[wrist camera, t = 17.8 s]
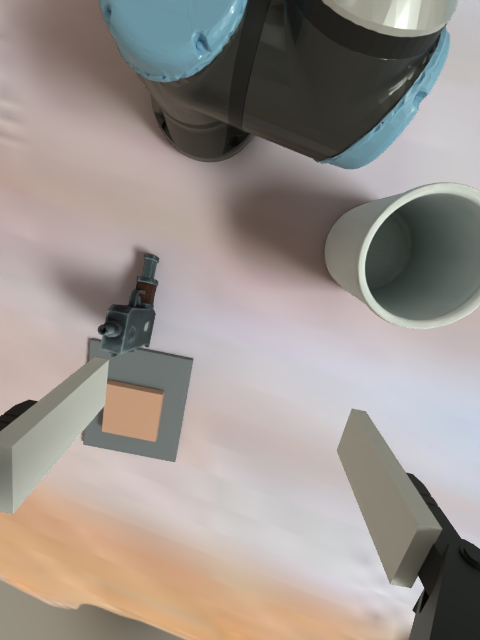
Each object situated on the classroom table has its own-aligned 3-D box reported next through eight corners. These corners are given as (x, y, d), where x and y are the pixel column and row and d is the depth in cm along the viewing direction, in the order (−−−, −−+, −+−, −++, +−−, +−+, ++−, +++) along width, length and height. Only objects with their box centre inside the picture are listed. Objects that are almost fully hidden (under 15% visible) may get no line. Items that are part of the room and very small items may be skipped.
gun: (133, 236, 34) (107, 365, 34) (166, 261, 51) (148, 347, 51) (109, 231, 34) (84, 360, 34) (150, 258, 51) (133, 344, 51)
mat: (92, 338, 52) (90, 340, 52) (193, 358, 53) (192, 360, 52) (85, 441, 59) (83, 444, 58) (175, 459, 59) (174, 462, 58)
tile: (105, 383, 52) (101, 431, 55) (162, 394, 52) (155, 441, 55) (110, 379, 54) (105, 426, 57) (164, 390, 54) (157, 436, 57)
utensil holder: (406, 299, 49) (488, 333, 32) (315, 295, 49) (348, 327, 32) (425, 202, 45) (530, 184, 28) (325, 199, 45) (370, 178, 28)
